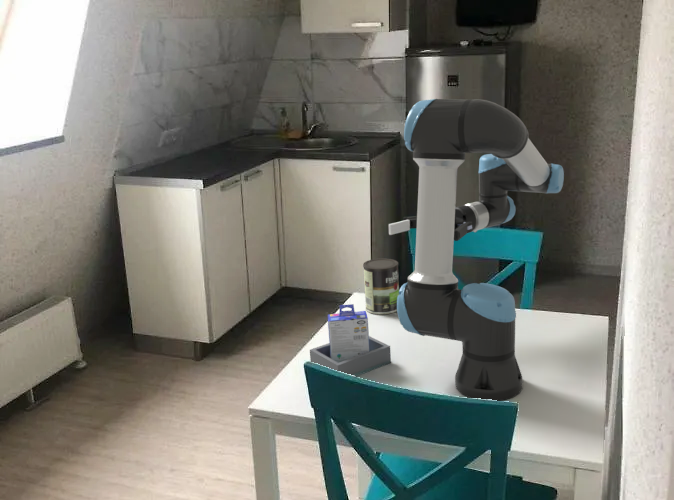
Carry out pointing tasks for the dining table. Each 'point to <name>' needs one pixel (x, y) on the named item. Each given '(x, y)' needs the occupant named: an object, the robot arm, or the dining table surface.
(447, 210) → the robot arm
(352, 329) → the ink cartridge box
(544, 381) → the dining table surface
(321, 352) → the walled box
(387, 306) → the coffee can
